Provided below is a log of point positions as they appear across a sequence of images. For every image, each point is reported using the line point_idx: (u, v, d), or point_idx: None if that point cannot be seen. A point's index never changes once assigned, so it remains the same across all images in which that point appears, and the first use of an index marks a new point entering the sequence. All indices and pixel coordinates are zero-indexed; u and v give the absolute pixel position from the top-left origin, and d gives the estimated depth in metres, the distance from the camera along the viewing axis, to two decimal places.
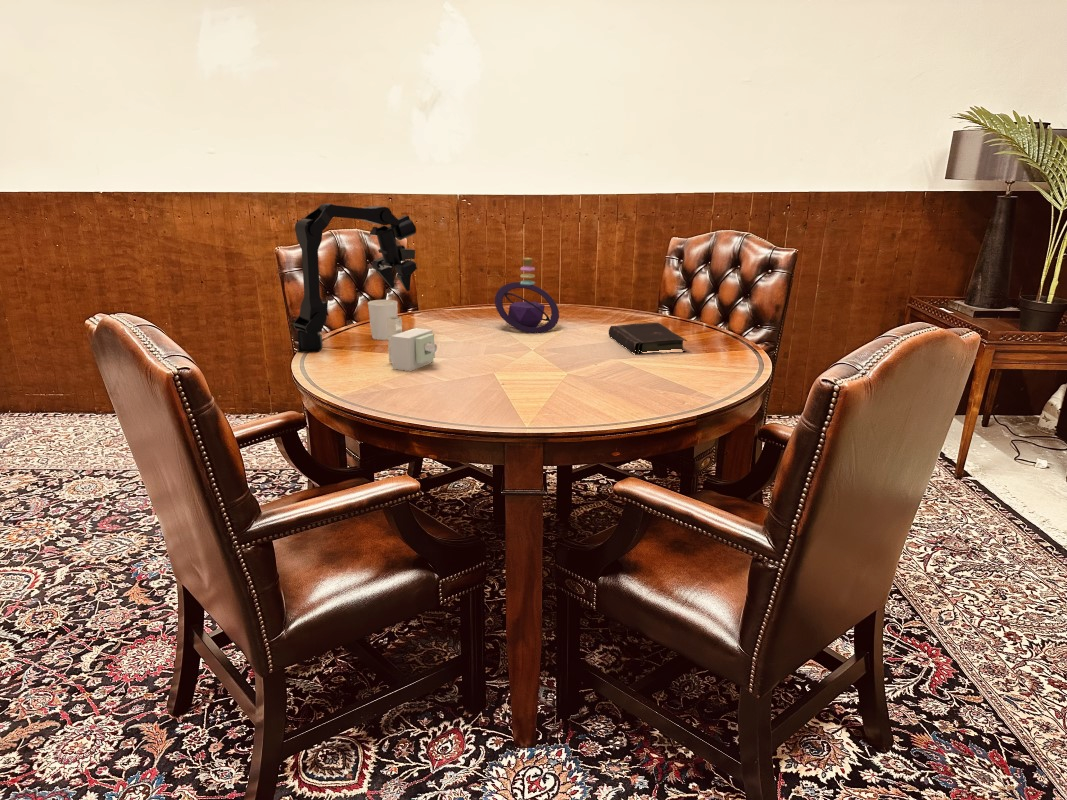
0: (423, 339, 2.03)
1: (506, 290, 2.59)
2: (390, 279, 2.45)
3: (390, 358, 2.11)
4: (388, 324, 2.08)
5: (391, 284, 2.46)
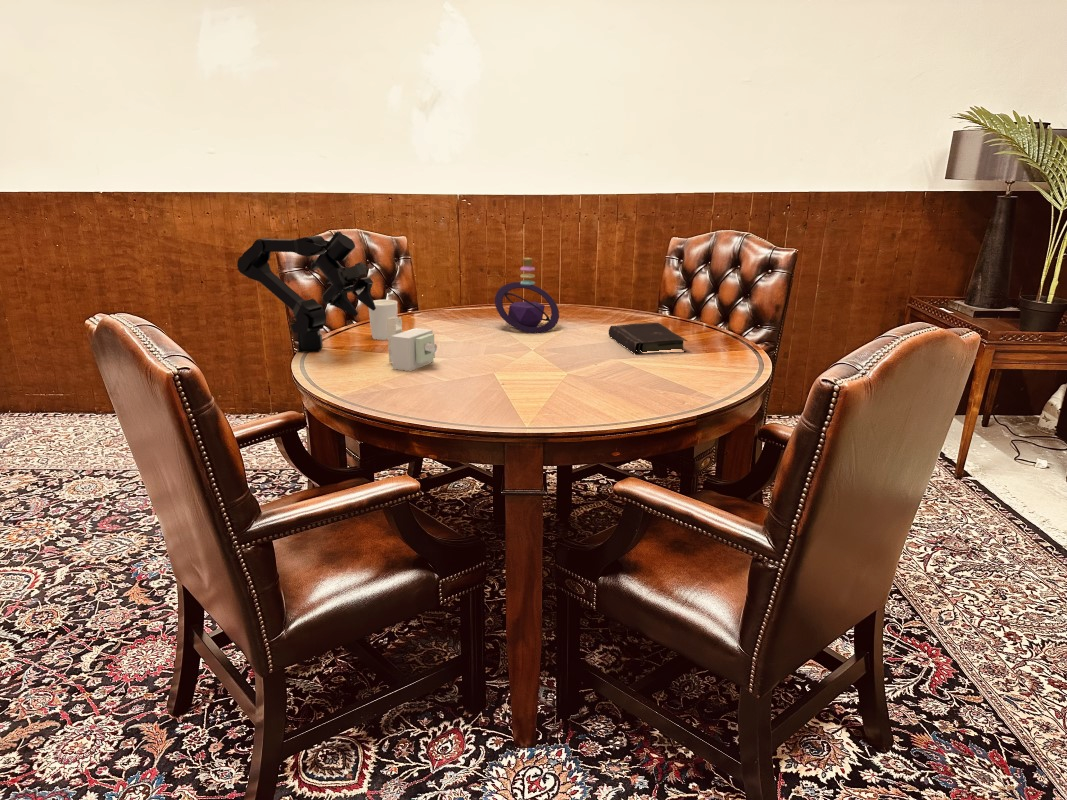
0: (423, 339, 2.03)
1: (506, 290, 2.59)
2: (368, 301, 2.18)
3: (390, 358, 2.11)
4: (388, 324, 2.08)
5: (371, 307, 2.18)
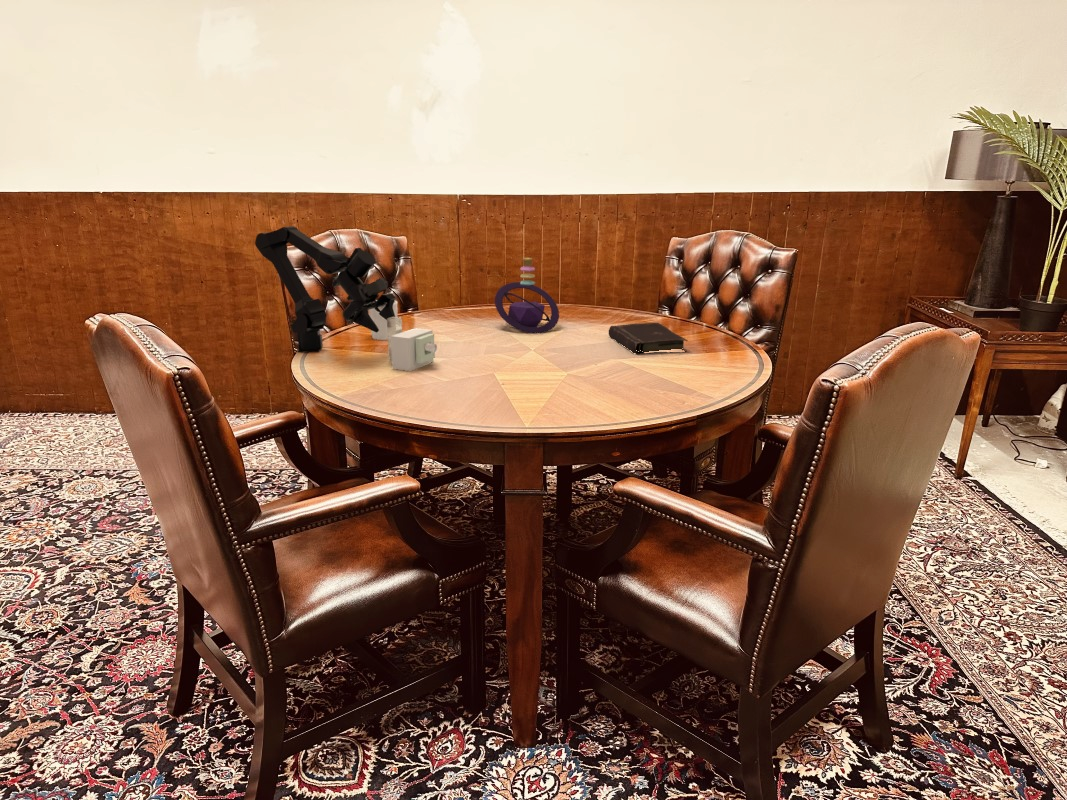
0: (423, 339, 2.03)
1: (506, 290, 2.59)
2: None
3: (390, 358, 2.11)
4: (388, 324, 2.08)
5: None
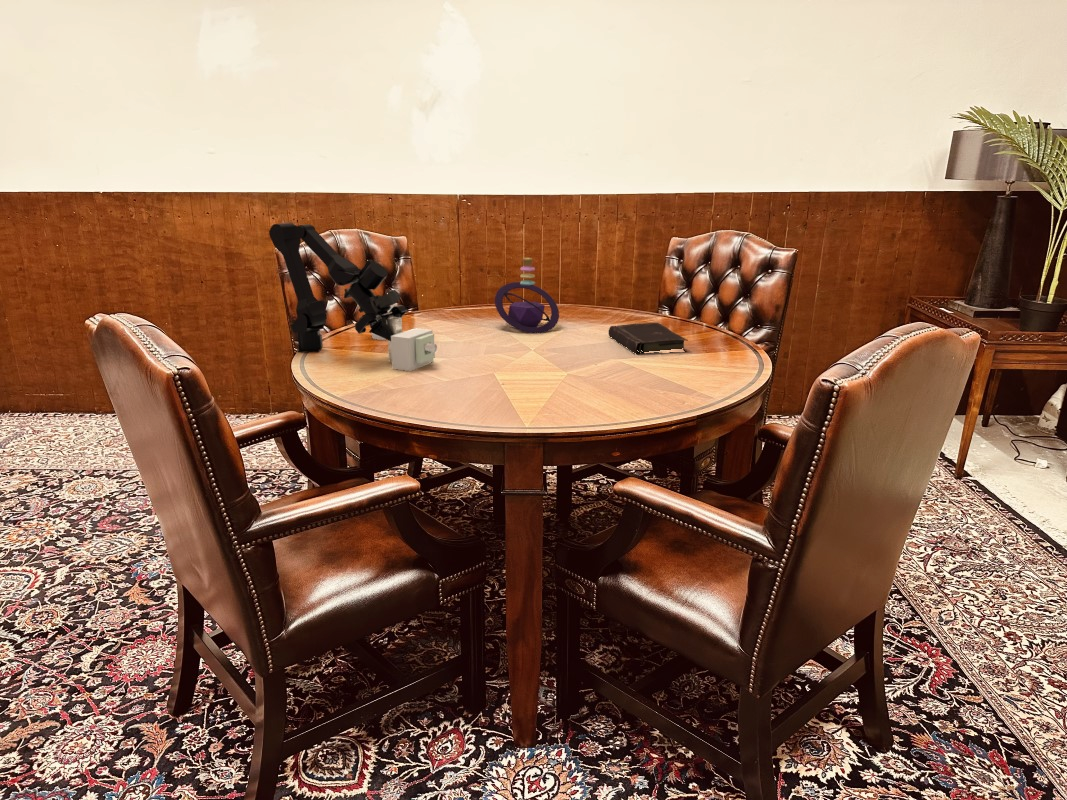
0: (423, 339, 2.03)
1: (506, 290, 2.59)
2: None
3: (390, 358, 2.11)
4: (388, 324, 2.08)
5: None
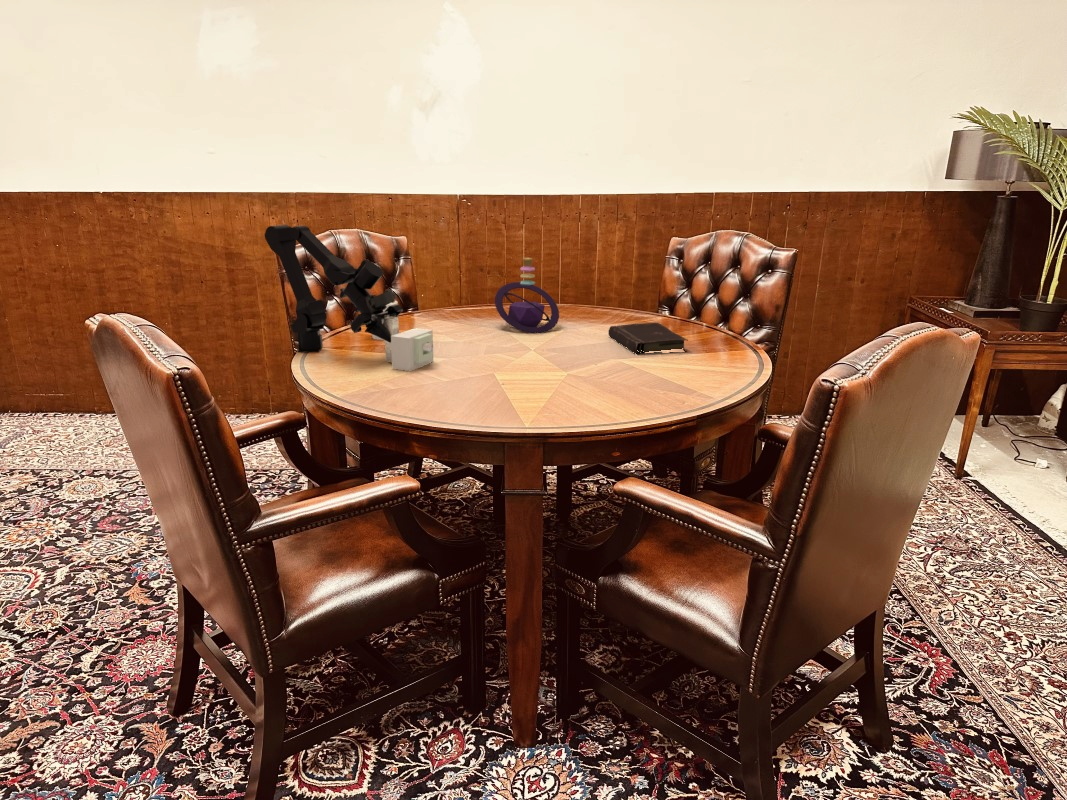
0: (421, 339, 2.03)
1: (506, 290, 2.59)
2: None
3: (387, 358, 2.11)
4: (385, 324, 2.08)
5: None
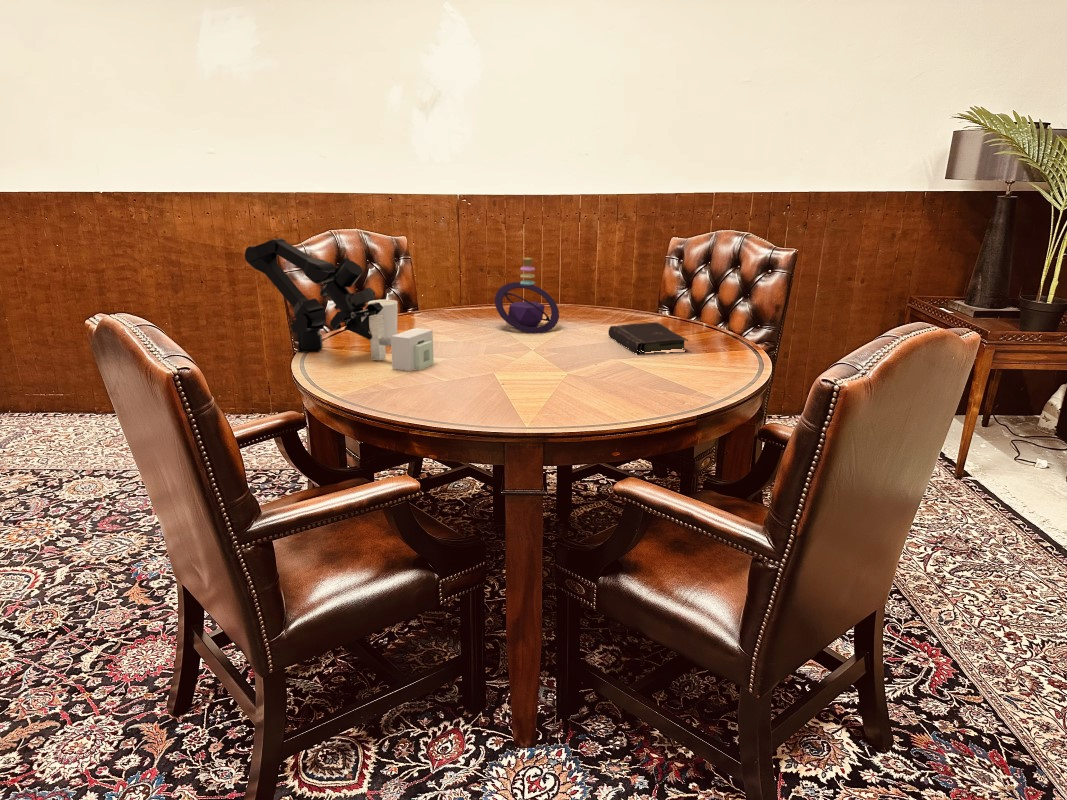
0: (422, 346, 2.04)
1: (506, 290, 2.59)
2: None
3: (372, 355, 2.13)
4: (370, 322, 2.10)
5: None
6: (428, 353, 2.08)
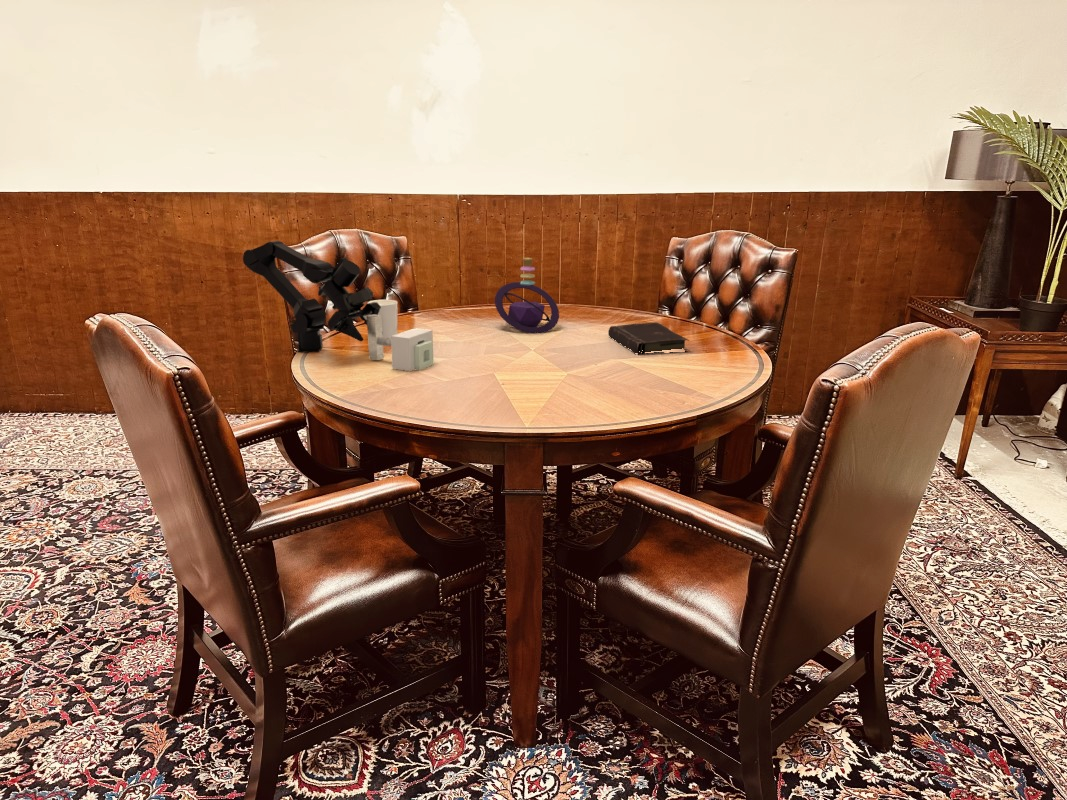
0: (422, 346, 2.04)
1: (506, 290, 2.59)
2: None
3: (370, 355, 2.14)
4: (368, 322, 2.11)
5: None
6: (428, 353, 2.08)
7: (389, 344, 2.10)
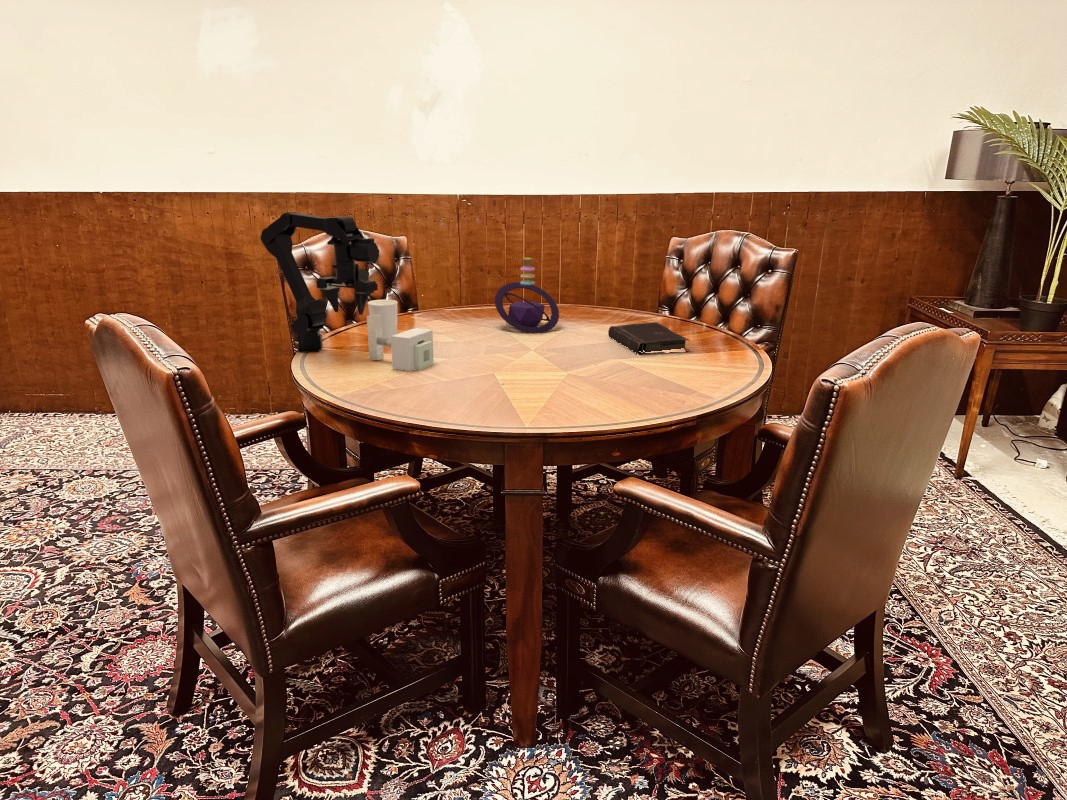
0: (422, 346, 2.04)
1: (506, 290, 2.59)
2: (335, 301, 2.17)
3: (370, 355, 2.14)
4: (368, 322, 2.11)
5: (336, 307, 2.17)
6: (428, 353, 2.08)
7: (389, 344, 2.10)
